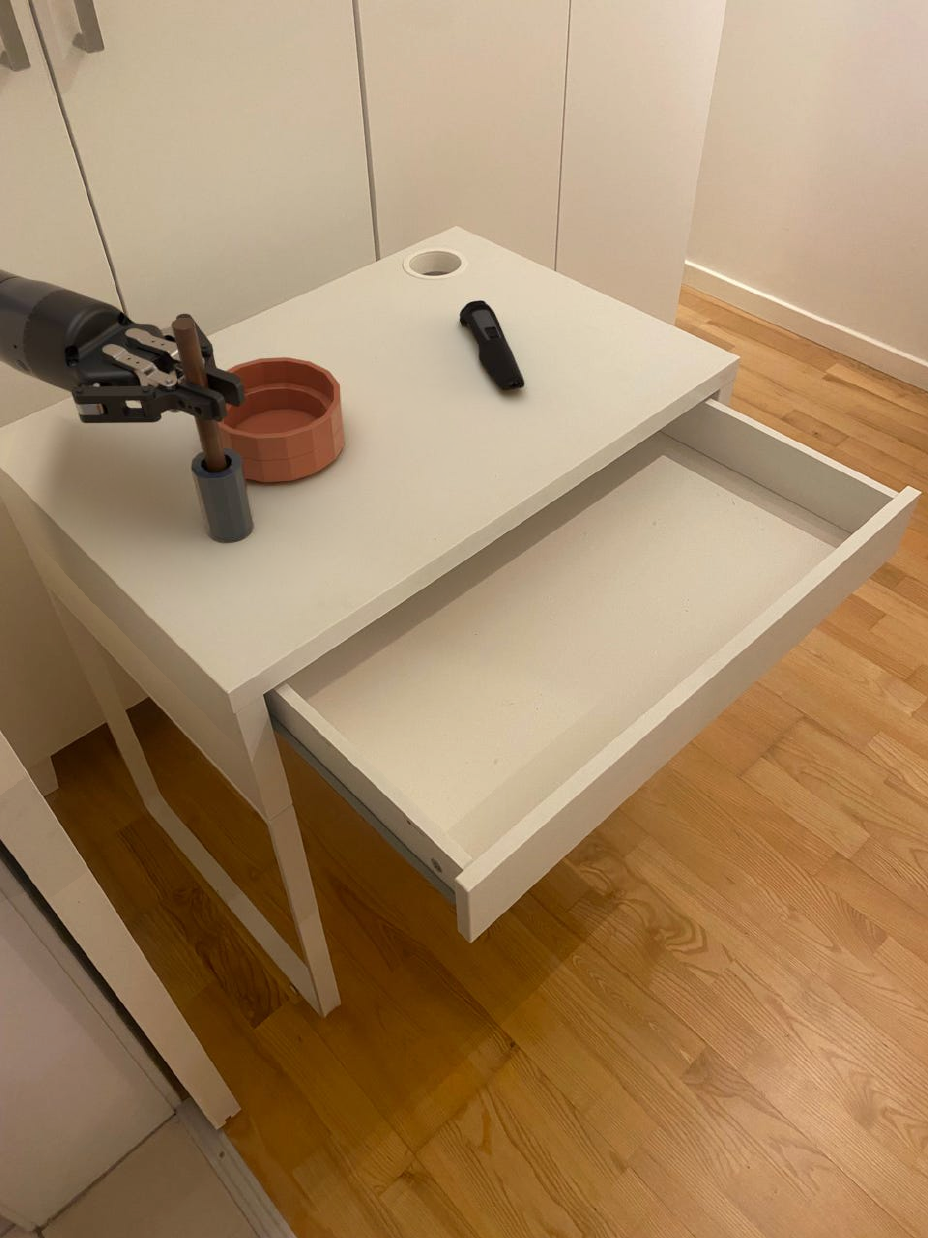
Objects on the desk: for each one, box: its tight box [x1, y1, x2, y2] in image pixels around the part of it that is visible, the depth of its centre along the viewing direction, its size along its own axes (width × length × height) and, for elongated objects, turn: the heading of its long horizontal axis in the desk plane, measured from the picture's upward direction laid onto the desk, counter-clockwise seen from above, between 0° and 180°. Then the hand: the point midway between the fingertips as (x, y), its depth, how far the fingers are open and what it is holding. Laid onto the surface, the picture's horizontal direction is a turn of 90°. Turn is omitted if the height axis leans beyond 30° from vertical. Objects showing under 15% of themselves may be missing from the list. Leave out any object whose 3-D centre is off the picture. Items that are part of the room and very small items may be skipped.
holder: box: [190, 448, 255, 543], centre depth 80 cm, size 4×4×7 cm
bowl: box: [217, 356, 346, 483], centre depth 88 cm, size 12×12×6 cm
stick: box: [171, 318, 228, 473], centre depth 75 cm, size 2×2×19 cm
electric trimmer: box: [459, 299, 525, 391], centre depth 99 cm, size 4×16×3 cm, turn 15°
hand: (231, 400), depth 71 cm, fingers closed on stick, 1 cm apart
